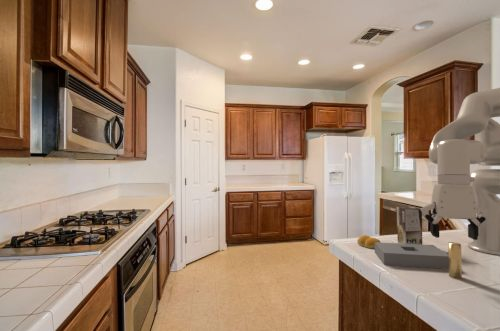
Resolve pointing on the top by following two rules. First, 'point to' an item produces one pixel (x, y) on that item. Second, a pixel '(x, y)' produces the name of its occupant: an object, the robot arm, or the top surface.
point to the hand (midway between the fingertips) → (453, 237)
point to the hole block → (411, 255)
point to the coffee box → (409, 225)
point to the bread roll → (367, 241)
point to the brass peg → (455, 260)
